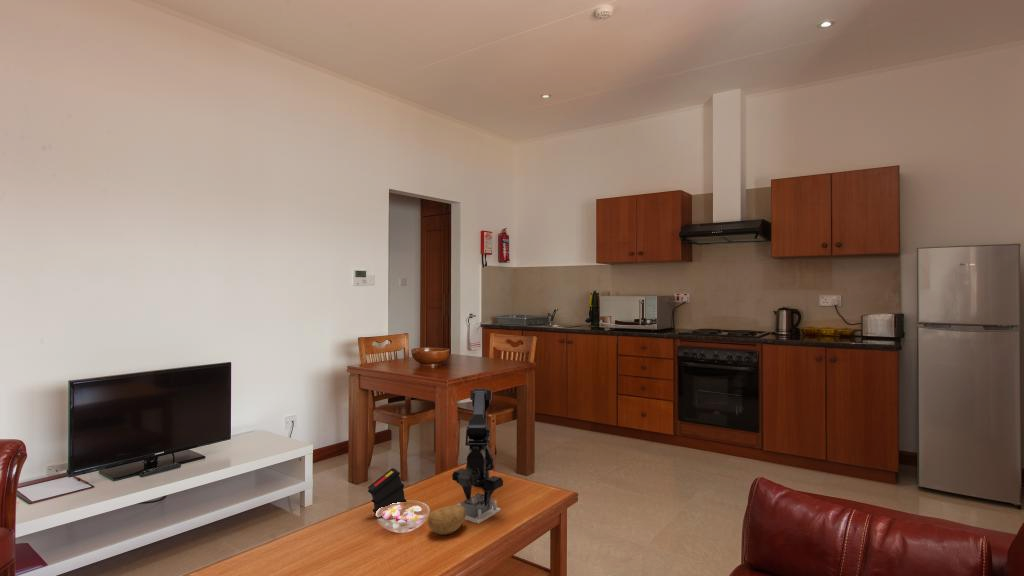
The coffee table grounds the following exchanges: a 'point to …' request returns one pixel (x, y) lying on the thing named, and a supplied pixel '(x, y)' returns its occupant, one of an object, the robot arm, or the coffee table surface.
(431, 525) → the potato
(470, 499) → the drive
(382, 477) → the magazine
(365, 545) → the coffee table surface
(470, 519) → the white mounting plate
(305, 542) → the coffee table surface
